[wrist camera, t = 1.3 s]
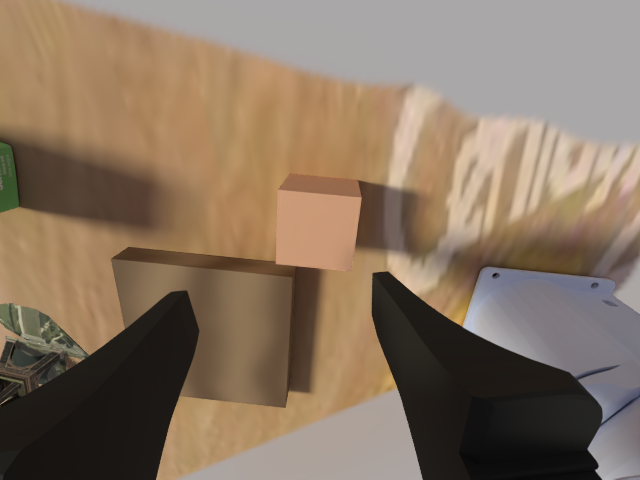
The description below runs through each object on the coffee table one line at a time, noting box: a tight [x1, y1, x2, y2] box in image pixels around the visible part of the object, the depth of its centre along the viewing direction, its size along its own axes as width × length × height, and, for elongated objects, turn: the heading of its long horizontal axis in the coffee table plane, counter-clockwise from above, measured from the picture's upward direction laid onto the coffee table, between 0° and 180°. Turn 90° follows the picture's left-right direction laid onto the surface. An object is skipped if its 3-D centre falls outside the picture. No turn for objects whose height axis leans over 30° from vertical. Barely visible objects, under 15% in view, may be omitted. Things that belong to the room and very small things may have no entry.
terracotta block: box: [276, 174, 362, 272], centre depth 20 cm, size 5×5×4 cm
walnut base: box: [111, 247, 296, 408], centre depth 26 cm, size 13×13×2 cm
